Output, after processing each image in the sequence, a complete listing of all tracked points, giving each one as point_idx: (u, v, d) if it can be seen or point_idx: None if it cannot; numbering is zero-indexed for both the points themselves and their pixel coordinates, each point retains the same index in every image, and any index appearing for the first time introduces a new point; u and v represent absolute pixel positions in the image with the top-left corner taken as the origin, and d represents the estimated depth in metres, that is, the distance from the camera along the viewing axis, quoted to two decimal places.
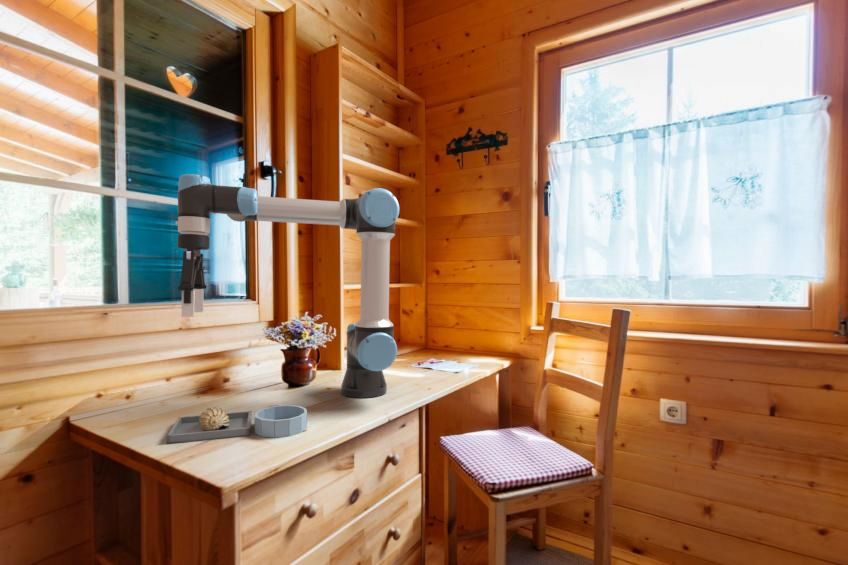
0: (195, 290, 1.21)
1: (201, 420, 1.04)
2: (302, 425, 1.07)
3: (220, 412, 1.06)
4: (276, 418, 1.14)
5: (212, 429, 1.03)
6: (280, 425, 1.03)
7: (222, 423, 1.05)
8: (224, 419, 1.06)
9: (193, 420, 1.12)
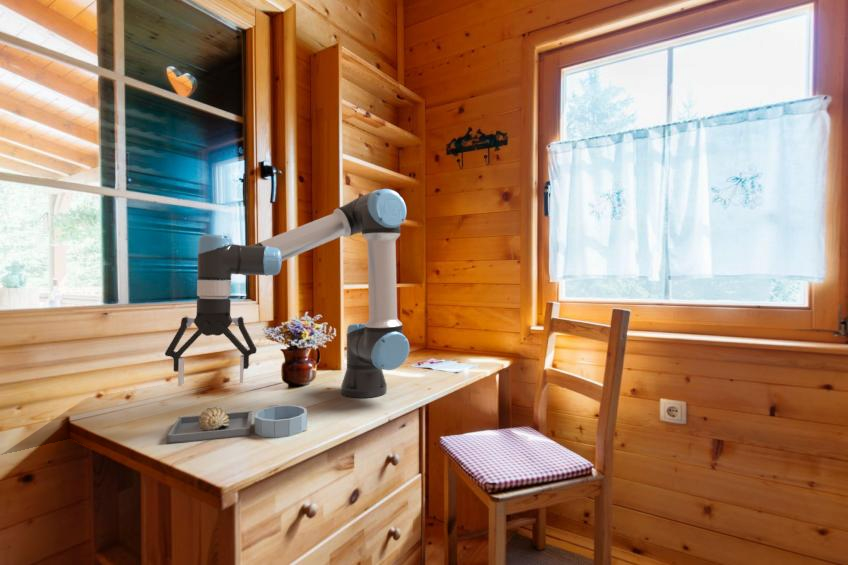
0: None
1: (201, 420, 1.04)
2: (302, 425, 1.07)
3: (220, 412, 1.06)
4: (276, 418, 1.14)
5: (212, 429, 1.03)
6: (280, 425, 1.03)
7: (222, 423, 1.05)
8: (224, 419, 1.06)
9: (193, 420, 1.12)
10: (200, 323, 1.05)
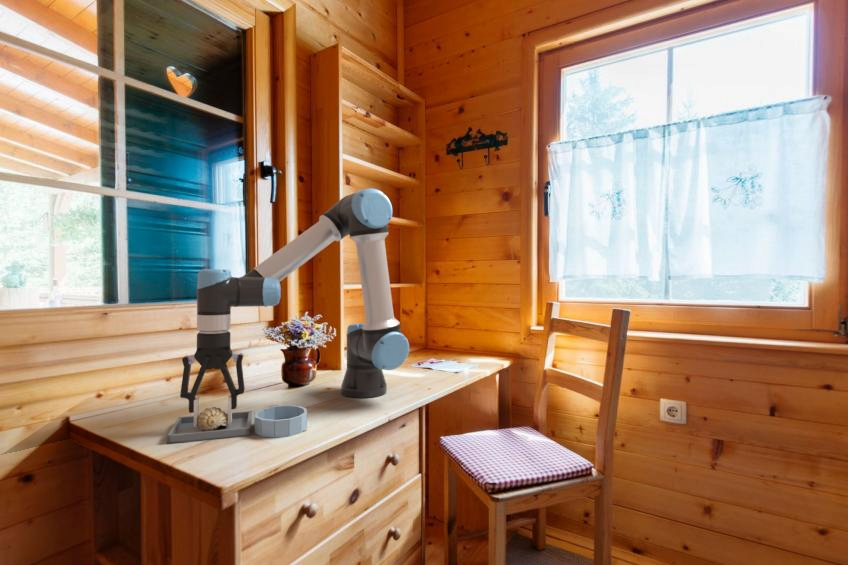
0: None
1: (199, 420, 1.04)
2: (302, 425, 1.07)
3: (218, 412, 1.06)
4: (276, 418, 1.14)
5: (210, 429, 1.03)
6: (280, 425, 1.03)
7: (220, 423, 1.05)
8: (222, 419, 1.06)
9: (193, 420, 1.12)
10: (201, 357, 1.06)
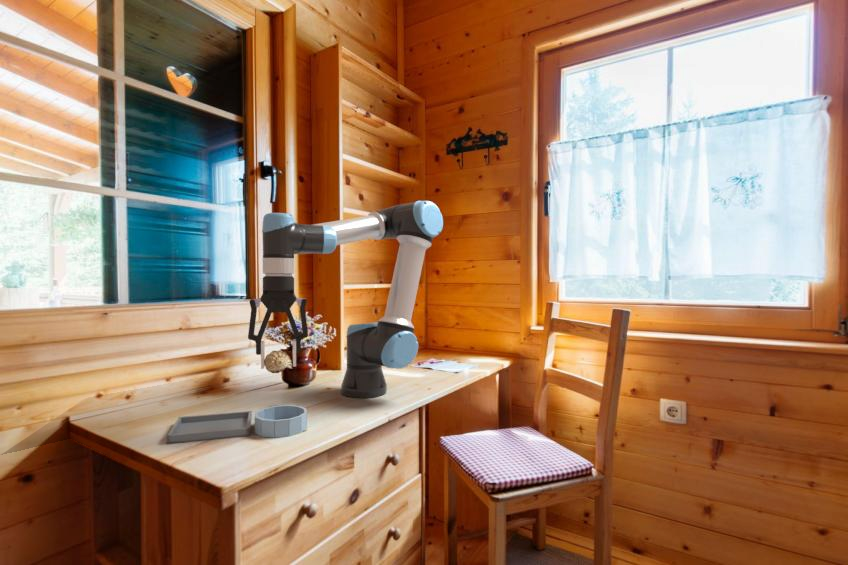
0: None
1: (267, 361, 1.05)
2: (302, 425, 1.07)
3: (284, 354, 1.08)
4: (276, 418, 1.14)
5: (278, 369, 1.05)
6: (280, 425, 1.03)
7: (287, 364, 1.07)
8: (288, 361, 1.08)
9: (193, 420, 1.12)
10: (267, 300, 1.07)
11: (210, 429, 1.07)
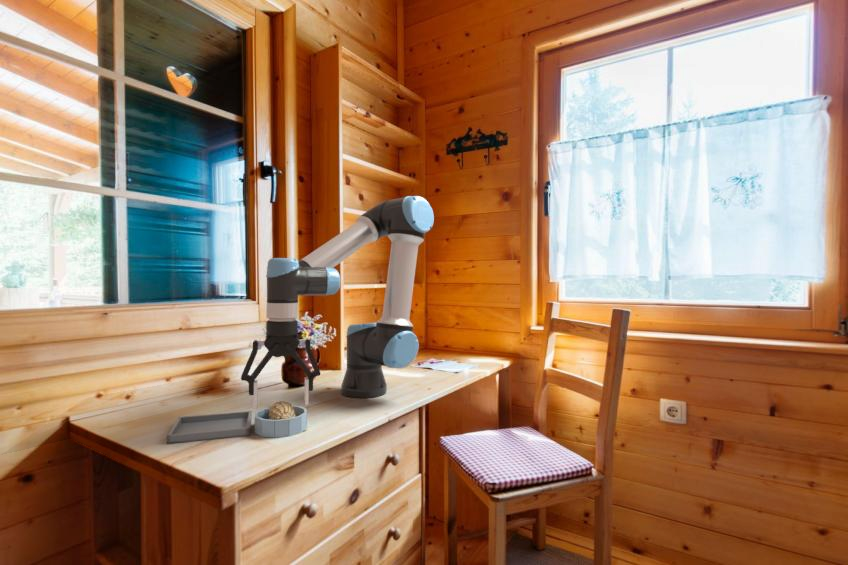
0: None
1: (272, 414, 1.05)
2: (302, 425, 1.07)
3: (290, 409, 1.07)
4: None
5: None
6: (280, 425, 1.03)
7: None
8: (292, 417, 1.08)
9: (193, 420, 1.12)
10: (270, 345, 1.07)
11: (210, 429, 1.07)
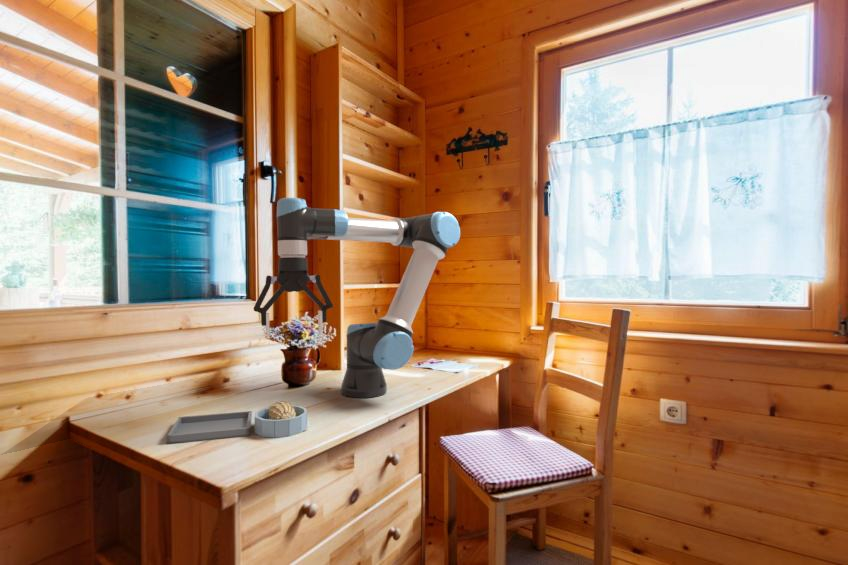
0: (318, 311, 1.19)
1: (272, 414, 1.05)
2: (302, 425, 1.07)
3: (290, 409, 1.07)
4: None
5: None
6: (280, 425, 1.03)
7: None
8: (292, 417, 1.08)
9: (193, 420, 1.12)
10: (283, 280, 1.14)
11: (210, 429, 1.07)
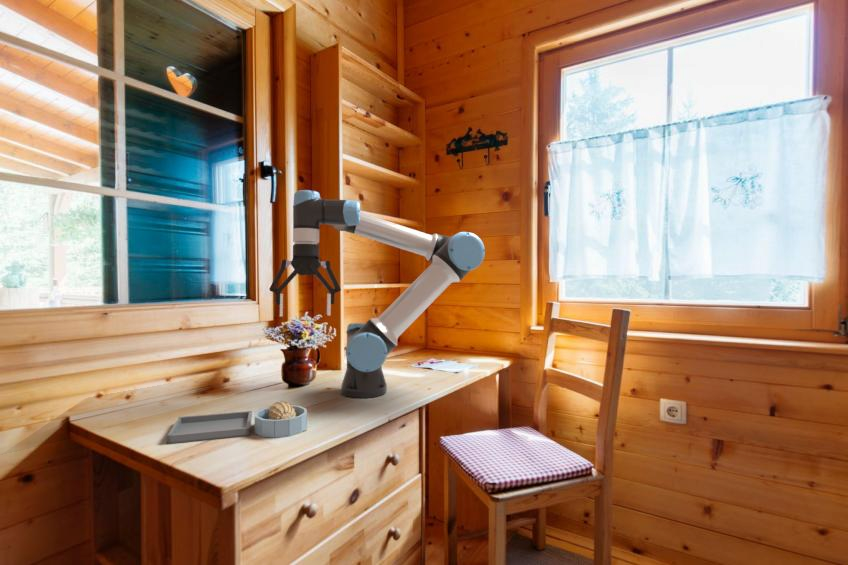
0: (327, 294, 1.31)
1: (272, 415, 1.05)
2: (302, 425, 1.07)
3: (290, 409, 1.07)
4: None
5: None
6: (280, 425, 1.03)
7: None
8: (292, 417, 1.08)
9: (193, 420, 1.12)
10: (296, 264, 1.26)
11: (210, 429, 1.07)
